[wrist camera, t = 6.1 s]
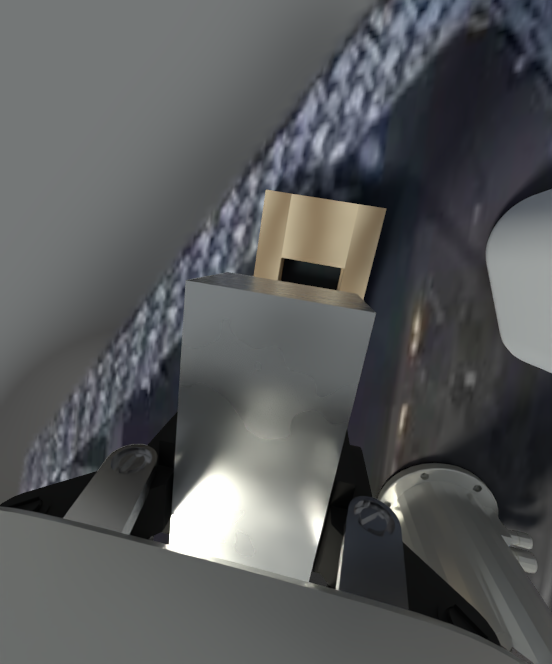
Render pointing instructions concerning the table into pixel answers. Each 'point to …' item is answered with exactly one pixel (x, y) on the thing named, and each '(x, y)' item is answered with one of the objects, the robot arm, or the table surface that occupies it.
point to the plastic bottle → (524, 278)
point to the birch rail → (319, 237)
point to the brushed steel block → (263, 416)
